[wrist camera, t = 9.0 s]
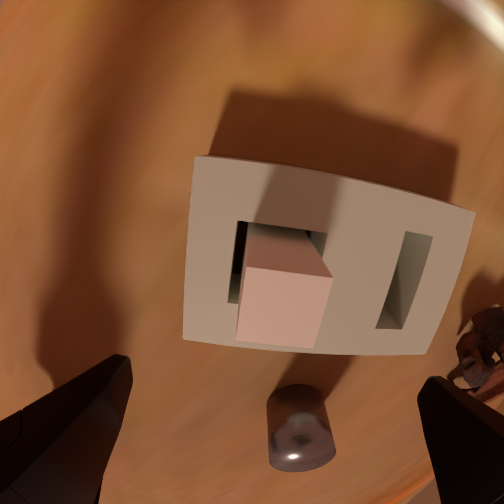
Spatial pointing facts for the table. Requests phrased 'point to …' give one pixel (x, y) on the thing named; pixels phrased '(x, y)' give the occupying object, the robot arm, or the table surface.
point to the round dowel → (298, 429)
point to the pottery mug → (483, 356)
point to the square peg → (281, 287)
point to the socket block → (326, 253)
